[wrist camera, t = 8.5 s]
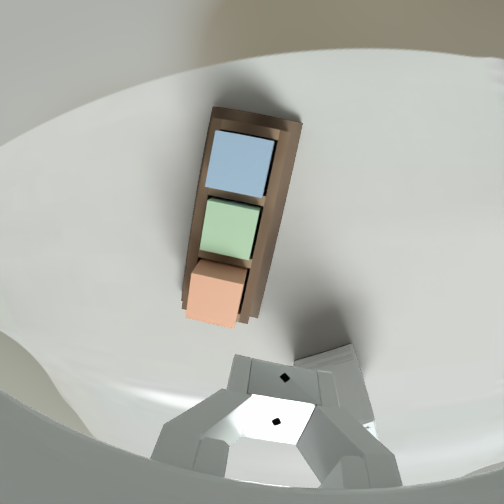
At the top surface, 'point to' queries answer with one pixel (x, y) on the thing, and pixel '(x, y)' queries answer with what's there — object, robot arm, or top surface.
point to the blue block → (239, 163)
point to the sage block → (229, 227)
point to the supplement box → (345, 382)
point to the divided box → (247, 201)
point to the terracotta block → (215, 292)
